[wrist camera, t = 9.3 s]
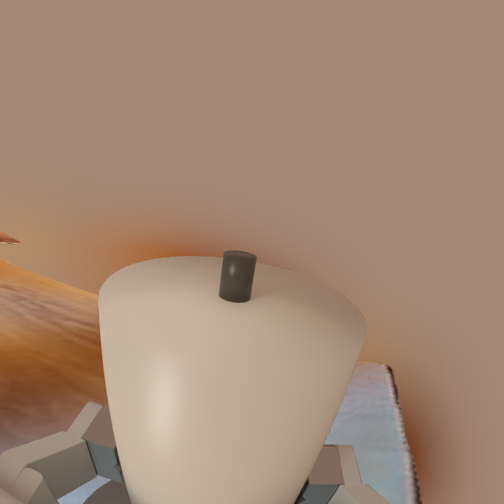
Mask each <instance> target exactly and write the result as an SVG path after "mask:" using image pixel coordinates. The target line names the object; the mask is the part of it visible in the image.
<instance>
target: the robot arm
mask: <svg viewBox="0 0 504 504" xmlns="http://www.w3.org/2000/svg"><path fill="white" fill-rule="evenodd" d="M97 475H99V476H102V477H105V478H108V479H111V480H114V481H117V482H120V483H122V482H123V480H124V476H123V472H122V468H121V464H120V460H119V456H118V451H117V447H116V442H115V437H114V432H113V427H112V421H111V416H110V410H109V407H107V406H104V405H101V404H98V403H96V402H93V401H90V402H88V403H87V404H86V405H85V407H84V408H83V409H82V411H81V412H80V414H79V415H78V416H77V418H76V419H75V421H74V422H73V423H72V425H71V426H70V428H69V429H68V430H67V432H64V431H60V432H58V433H55V434H52V435H49V436H47V437H44V438H41V439H38V440H35V441H33V442H30V443H27V444H24V445H21V446H18V447H15V448H12V449H8V450H5V451H4V452H3V453H2V454H1V455H0V504H59V503H58V501H57V499H59V498H61V497H63V496H64V495H66V494H68V493H70V492H71V491H73V490H75V489H77V488H78V487H80V486H82V485H83V484H85V483H87V482H88V481H90V480H92V479H93V478H95V477H97ZM294 504H390V503H389V502H387V501H386V500H385V499H384V498H383V497H381V496H380V495H379V494H378V493H377V492H376V491H374V490H373V489H372V488H371V487H370V486H369V485H367V484H362V481H361V477H360V473H359V469H358V465H357V461H356V457H355V453H354V449H353V447H352V446H351V445H323V447H322V449H321V451H320V453H319V455H318V458H317V460H316V462H315V464H314V466H313V468H312V470H311V472H310V474H309V476H308V478H307V480H306V482H305V484H304V486H303V488H302V490H301V492H300V493H299V495H298V497H297V499H296V501H295V503H294Z"/></svg>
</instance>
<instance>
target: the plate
mask: <svg viewBox="0 0 504 504" xmlns="http://www.w3.org/2000/svg"><path fill="white" fill-rule="evenodd" d="M83 504H131V502H130V498H129V495H128V491H127V488H126V484H125V480H123V482H122V483H120V482H117V481H114V480H111V481H110V482H108V483H106V484H105V485H103V486H102V487H100V488H99V489H97V490H96V491H95V492H94V493H93V494H92V495H91V496H90V497H88V499H87V500H86V501H85V502H84V503H83Z"/></svg>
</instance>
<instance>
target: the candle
mask: <svg viewBox="0 0 504 504" xmlns="http://www.w3.org/2000/svg"><path fill="white" fill-rule="evenodd" d="M256 260H257V257H256V256H255V255H253V254H251V253H248V252H243V251H226V252H224V255H223V258H221V257H205V256H204V257H202V256H181V257H167V258H159V259H153V260H148V261H143V262H139V263H137V264H133V265H130V266H128V267H125V268H123V269H121V270H119V271H117V272H116V273H114V274H113V275H111V276H110V277H109V278H108V279H107V280H106V281H105V282H104V284H103V285H102V287H101V289H100V292H99V300H98V302H99V321H100V335H101V347H102V357H103V367H104V375H105V383H106V390H107V397H108V403H109V410H110V416H111V421H112V427H113V432H114V437H115V442H116V447H117V451H118V456H119V460H120V464H121V468H122V472H123V476H124V480H125V484H126V488H127V491H128V495H129V498H130V502H131V504H294V503H295V501H296V499H297V497H298V495H299V493H300V492H301V490H302V488H303V486H304V484H305V482H306V480H307V478H308V476H309V474H310V472H311V470H312V468H313V466H314V464H315V462H316V460H317V458H318V455H319V453H320V451H321V449H322V447H323V445H324V442H325V440H326V438H327V436H328V434H329V431H330V429H331V427H332V424H333V422H334V420H335V417H336V415H337V412H338V410H339V407H340V405H341V402H342V400H343V397H344V395H345V392H346V390H347V387H348V384H349V382H350V379H351V376H352V374H353V371H354V368H355V365H356V362H357V360H358V357H359V354H360V351H361V348H362V345H363V342H364V339H365V336H366V324H365V320H364V318H363V316H362V314H361V312H360V311H359V310H358V308H357V307H356V306H355V305H354V304H353V303H352V302H351V301H350V300H349V299H347V298H346V297H345V296H344V295H342V294H340V293H339V292H338V291H336V290H334V289H333V288H330V287H329V286H327V285H325V284H323V283H321V282H319V281H317V280H314V279H312V278H309V277H307V276H304V275H301V274H298V273H296V272H293V271H289V270H286V269H282V268H279V267H275V266H271V265H266V264H262V263H257V262H256Z"/></svg>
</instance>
